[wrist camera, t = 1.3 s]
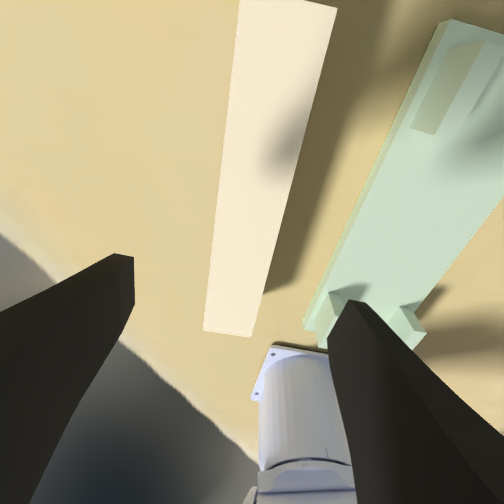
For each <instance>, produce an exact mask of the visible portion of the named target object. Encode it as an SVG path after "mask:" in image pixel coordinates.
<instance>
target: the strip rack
mask: <svg viewBox="0 0 504 504" xmlns="http://www.w3.org/2000/svg"><path fill="white" fill-rule="evenodd" d="M503 196H504V34H501V33H497V32H494V31H491V30H487V29H484V28H481V27H478V26H474V25H471V24H468V23H464V22H461V21H458V20H454V19H449V20H446V21H443V22H440V23H439V24H438V26H437V28H436V30H435V32H434V35H433V37H432V39H431V41H430V43H429V45H428V48H427V50H426V52H425V54H424V56H423V58H422V61H421V63H420V65H419V67H418V69H417V72H416V74H415V76H414V78H413V80H412V82H411V85H410V87H409V89H408V91H407V93H406V95H405V98H404V100H403V102H402V104H401V106H400V109H399V111H398V113H397V115H396V117H395V119H394V122H393V124H392V126H391V128H390V130H389V133H388V135H387V137H386V139H385V141H384V143H383V146H382V148H381V150H380V152H379V154H378V156H377V159H376V161H375V163H374V165H373V167H372V170H371V172H370V174H369V176H368V178H367V180H366V183H365V185H364V187H363V189H362V191H361V193H360V196H359V198H358V200H357V202H356V204H355V207H354V209H353V211H352V213H351V215H350V217H349V220H348V222H347V224H346V226H345V228H344V230H343V233H342V235H341V237H340V239H339V241H338V244H337V246H336V248H335V250H334V252H333V254H332V257H331V259H330V261H329V263H328V265H327V267H326V270H325V272H324V274H323V276H322V278H321V281H320V283H319V285H318V287H317V289H316V291H315V294H314V296H313V298H312V300H311V302H310V305H309V307H308V309H307V311H306V313H305V315H304V318H303V320H302V324H303V330H309V331H314V332H315V336H316V341H317V345H318V347H319V348H324V349H328V348H327V337H328V335H329V333H330V332H331V330H332V328H333V326H334V325H335V323H336V321H337V319H338V317H339V316H340V314H341V312H342V310H343V308H344V307H345V305H346V303H347V301H348V300H349V299H350V300H355V301H360V302H366V303H367V304H368V305H369V306H370V307H371V308H372V309H373V310H374V311H375V312H376V313H377V314H378V315H379V316H380V317H381V318H382V319H383V320H384V321H385V322H386V323H387V324H388V326H389V327H390V328H391V329H392V330H393V331H394V332H395V333H396V334H397V335H398V336H399V337H400V338H401V339H402V340H403V341H404V343H405V344H406V345H407V346H408V347H409V348H410V349H411V350H413V349H414V348H415V347H416V345H417V344H418V343H419V342H420V341H421V340H422V338H423V337H424V336H425V335H426V334H427V332H426V331H425V329H424V328H423V326H422V325H421V323H420V322H419V320H418V319H417V317H416V316H415V314H414V312H415V311H416V310H417V308H418V307H419V306H420V304H421V303H422V302H423V300H424V299H425V298H426V297H427V295H428V294H429V293H430V291H431V290H432V289H433V287H434V286H435V285H436V284H437V282H438V281H439V280H440V278H441V277H442V276H443V274H444V273H445V272H446V271H447V269H448V268H449V267H450V265H451V264H452V263H453V261H454V260H455V259H456V257H457V256H458V255H459V254H460V252H461V251H462V250H463V248H464V247H465V246H466V244H467V243H468V242H469V241H470V239H471V238H472V237H473V235H474V234H475V233H476V231H477V230H478V229H479V227H480V226H481V225H482V224H483V222H484V221H485V220H486V218H487V217H488V216H489V214H490V213H491V212H492V211H493V209H494V208H495V207H496V205H497V204H498V203H499V201H500V200H501V199H502V198H503Z"/></svg>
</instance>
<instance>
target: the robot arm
mask: <svg viewBox="0 0 504 504" xmlns="http://www.w3.org/2000/svg"><path fill="white" fill-rule="evenodd" d="M134 305H135V288H134V257H131V256H126V255H121V254H115V253H114V254H112V255H110V256H108V257H106V258H104V259H102V260H100V261H98V262H97V263H95V264H93V265H91V266H89V267H87V268H86V269H84V270H82V271H80V272H78V273H77V274H75V275H73V276H71V277H69V278H67V279H65V280H63V281H62V282H60V283H58V284H56V285H54V286H52V287H50V288H49V289H47V290H45V291H43V292H40V293H38V294H36V295H34V296H32V297H30V298H28V299H26V300H24V301H22V302H20V303H18V304H16V305H14V306H12V307H10V308H8V309H5V310H4V311H1V312H0V504H29V502H30V500H31V498H32V496H33V494H34V492H35V489H36V488H37V485H38V483H39V481H40V479H41V477H42V475H43V473H44V471H45V469H46V467H47V465H48V462H49V460H50V458H51V456H52V454H53V452H54V450H55V448H56V446H57V444H58V442H59V440H60V438H61V436H62V434H63V432H64V430H65V428H66V426H67V424H68V422H69V420H70V418H71V416H72V414H73V413H74V411H75V409H76V407H77V406H78V404H79V402H80V400H81V399H82V396H83V395H84V393H85V392H86V390H87V389H88V387H89V386H90V384H91V382H92V381H93V379H94V377H95V376H96V374H97V373H98V371H99V369H100V368H101V366H102V364H103V363H104V361H105V359H106V358H107V356H108V355H109V353H110V351H111V349H112V348H113V346H114V345H115V343H116V341H117V340H118V338H119V336H120V335H121V333H122V331H123V329H124V327H125V325H126V323H127V321H128V318H129V316H130V314H131V312H132V309H133V307H134ZM327 348H328V354H324V353H318V352H313V351H307V350H301V349H296V348H290V347H284V346H279V345H272V346H270V347H269V350H268V352H267V355H266V357H265V360H264V362H263V365H262V368H261V370H260V373H259V375H258V378H257V380H256V383H255V385H254V388H253V390H252V393H251V400H254V401H259V438H258V459H259V466H260V470H261V472H258V487H252V488H251V489H250V491H249V492H248V495H247V497H246V498H245V500H244V502H243V504H504V436H503V435H502V434H500V433H499V432H498V431H497V430H496V429H495V428H493V427H492V426H491V425H490V424H489V423H488V422H487V421H485V420H484V419H483V418H482V417H481V416H480V415H479V414H477V413H476V412H475V411H474V410H473V409H472V408H471V407H469V406H468V405H467V404H466V403H465V402H464V401H463V400H462V399H461V398H460V397H459V396H458V395H456V394H455V393H454V392H453V391H452V390H451V389H450V388H449V387H448V386H447V385H446V384H445V383H444V382H443V381H442V380H441V379H440V378H439V377H438V376H437V375H436V374H435V373H434V372H433V371H432V370H431V369H430V368H429V367H428V366H427V365H426V364H425V363H424V362H423V361H422V360H421V359H420V358H419V357H418V356H417V355H416V354H415V353H414V352H413V351H412V350H411V349H410V348H409V347H408V346H407V345H406V344H405V343H404V341H403V340H402V339H401V338H400V337H399V336H398V335H397V334H396V333H395V332H394V331H393V330H392V329H391V328H390V327H389V326H388V324H387V323H386V322H385V321H384V320H383V319H382V318H381V317H380V316H379V315H378V314H377V313H376V312H375V311H374V310H373V309H372V308H371V307H370V306H369V305H368V304H367V303H366V302H360V301H355V300H350V299H349V300H348V301H347V303H346V305H345V307H344V308H343V310H342V312H341V314H340V316H339V317H338V319H337V321H336V323H335V325H334V326H333V328H332V330H331V332H330V333H329V335H328V337H327Z"/></svg>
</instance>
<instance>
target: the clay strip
mask: <svg viewBox="0 0 504 504" xmlns="http://www.w3.org/2000/svg"><path fill="white" fill-rule="evenodd" d="M337 9H338V8H335V7H331V6H326V5H322V4H318V3H313V2H309V1H305V0H240V5H239V14H238V23H237V31H236V40H235V49H234V58H233V67H232V76H231V84H230V93H229V102H228V111H227V120H226V129H225V138H224V146H223V155H222V164H221V173H220V182H219V191H218V200H217V208H216V217H215V226H214V235H213V244H212V253H211V261H210V270H209V279H208V288H207V297H206V306H205V315H204V323H203V331H210V332H217V333H224V334H231V335H237V336H244V337H251V336H252V332H253V328H254V325H255V321H256V317H257V313H258V309H259V306H260V302H261V298H262V294H263V290H264V287H265V283H266V279H267V275H268V271H269V268H270V264H271V260H272V256H273V252H274V249H275V245H276V241H277V237H278V233H279V230H280V226H281V222H282V218H283V214H284V211H285V207H286V203H287V199H288V195H289V192H290V188H291V184H292V180H293V176H294V172H295V169H296V165H297V161H298V157H299V153H300V150H301V146H302V142H303V138H304V134H305V131H306V127H307V123H308V119H309V115H310V112H311V108H312V104H313V100H314V96H315V93H316V89H317V85H318V81H319V77H320V74H321V70H322V66H323V62H324V58H325V55H326V51H327V47H328V43H329V39H330V36H331V32H332V28H333V24H334V20H335V17H336V13H337Z"/></svg>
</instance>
